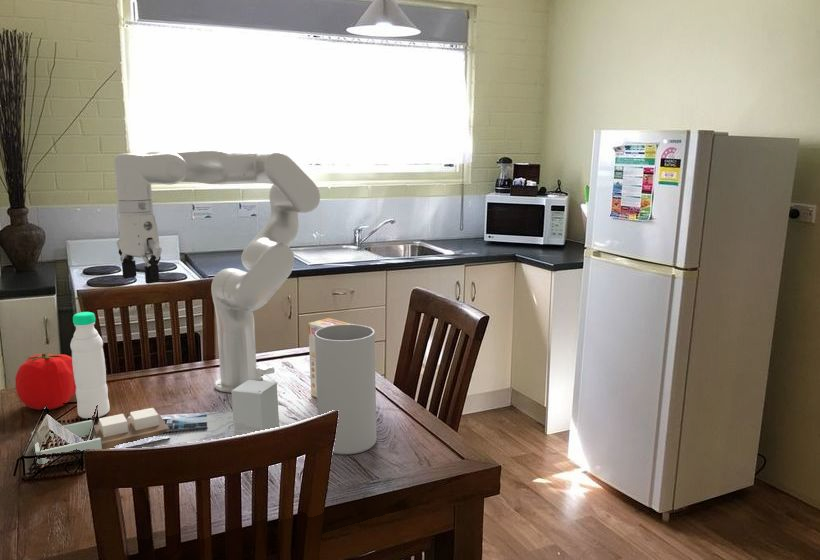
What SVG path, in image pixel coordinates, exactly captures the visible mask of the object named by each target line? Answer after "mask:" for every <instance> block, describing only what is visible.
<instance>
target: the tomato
mask: <svg viewBox="0 0 820 560" xmlns="http://www.w3.org/2000/svg"><path fill="white" fill-rule="evenodd" d="M14 380H15V391H16V394H17V396H18V398H19V400H20V401H21V403H23V405H24V406H26V407H28V408H30V409H34V410H38V411H39V410H42V409H43V408H44V407H46V406H48V409H49V410H54V409H57V408H60V407H62V406H64V405H65V404H63V403H66V404H67V403H68V402H69V401H70V400H71V399H72V397H73V396H74V395H76V385H75V380H74V373H73V364H72V356H70V355H67V354H60V353H59V354H58V353H56V354H50V353H48V352H46V353H41V354H33V355H31V356H28V357H27V359H26V361H24V362H23V363H22V364H21V365H20V366H19V367H18V370H17V373H16V376H15V379H14Z"/></svg>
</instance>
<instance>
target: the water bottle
mask: <svg viewBox="0 0 820 560" xmlns="http://www.w3.org/2000/svg"><path fill="white" fill-rule="evenodd" d="M72 324H73V326H74V327H75V331H74V333H73V337H72V338H71V340H70V344H69V345H70V350H71V357H72V364H73V373H74V380H75V385H76V391H75V398H76V402H77V403H76V406H77V415H78V416H79V417H80V418H81V419H85V420H86V419H87V420H88V418H91V419H93V418H92V416H93V415H94V412H95V409H96V406H97V405H98V418H102V417H103V416H104V417H105V415H107V414H108V413H109V412H110V409H111V408H110V401H109V396H108V395H109V390H108V389H109V388H108V384H107V372H106V371H107V368H106V358H105V353H104V348H103V347H104V341H103V339H102V337H101V336H100V334H99V332H98V330H97V329H96V328H95V325H96V315H95V313H94V312H90V311H82V312H77V313H75V314H73V316H72Z"/></svg>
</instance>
